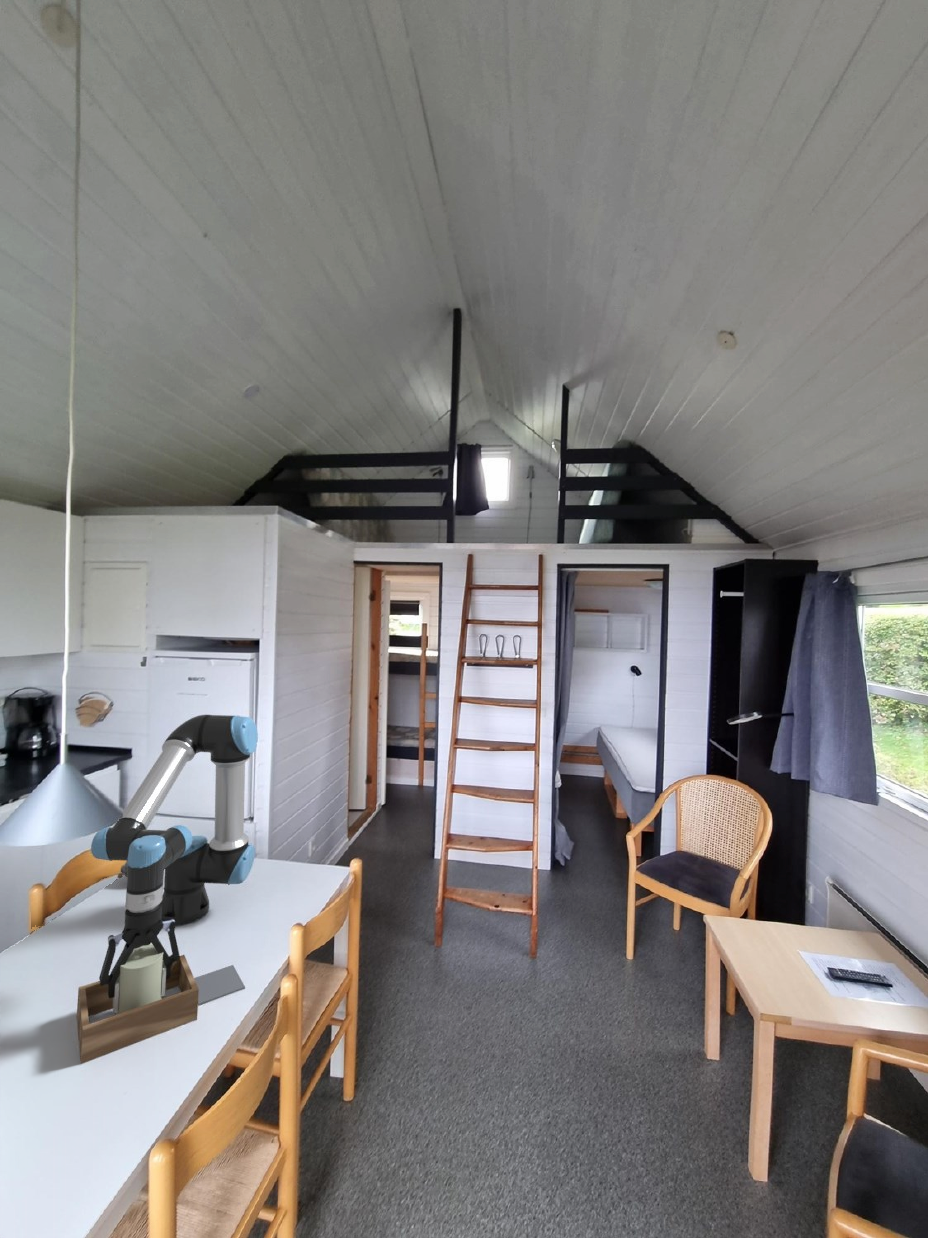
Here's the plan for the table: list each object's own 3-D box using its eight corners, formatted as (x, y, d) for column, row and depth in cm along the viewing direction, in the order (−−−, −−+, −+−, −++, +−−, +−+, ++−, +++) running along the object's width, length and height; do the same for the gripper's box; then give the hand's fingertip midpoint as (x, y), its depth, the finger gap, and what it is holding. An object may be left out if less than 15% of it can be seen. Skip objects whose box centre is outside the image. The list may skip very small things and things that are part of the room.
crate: (76, 1017, 124) (78, 987, 124) (182, 981, 138) (184, 954, 138) (80, 1064, 111) (82, 1030, 111) (197, 1019, 125) (198, 989, 125)
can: (155, 986, 132) (157, 937, 132) (166, 1006, 125) (168, 955, 125) (111, 1003, 125) (114, 952, 125) (120, 1026, 119) (123, 972, 119)
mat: (188, 981, 138) (188, 980, 138) (232, 966, 145) (233, 965, 145) (198, 1005, 130) (198, 1004, 130) (244, 988, 137) (245, 987, 137)
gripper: (89, 927, 116) (84, 1031, 115) (197, 899, 129) (192, 991, 129) (87, 912, 122) (82, 1010, 121) (190, 886, 135) (186, 975, 135)
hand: (139, 1000), depth 125 cm, fingers closed on can, 9 cm apart
